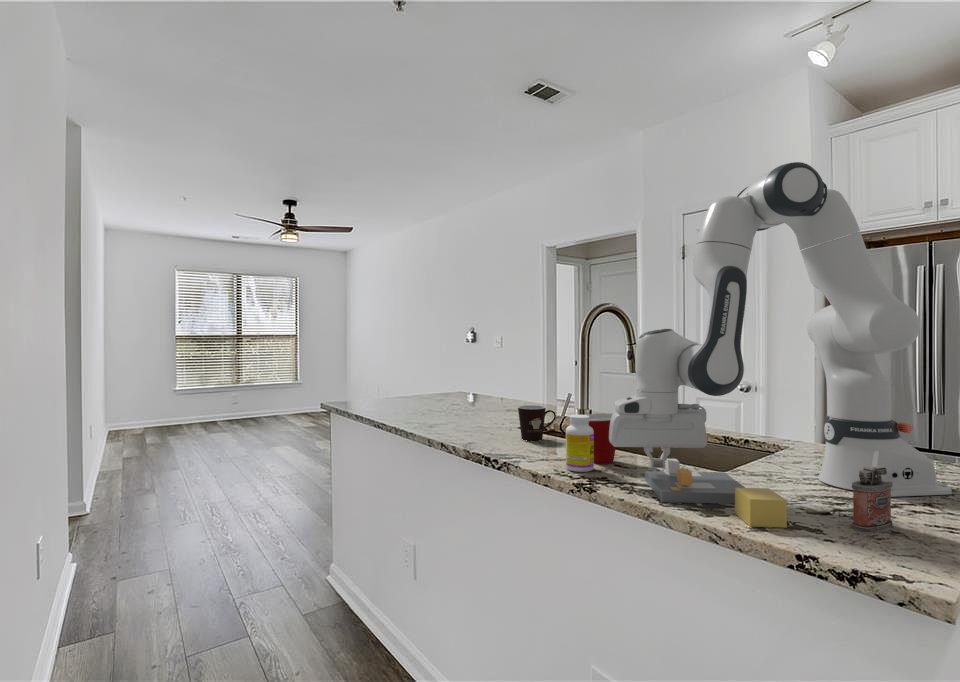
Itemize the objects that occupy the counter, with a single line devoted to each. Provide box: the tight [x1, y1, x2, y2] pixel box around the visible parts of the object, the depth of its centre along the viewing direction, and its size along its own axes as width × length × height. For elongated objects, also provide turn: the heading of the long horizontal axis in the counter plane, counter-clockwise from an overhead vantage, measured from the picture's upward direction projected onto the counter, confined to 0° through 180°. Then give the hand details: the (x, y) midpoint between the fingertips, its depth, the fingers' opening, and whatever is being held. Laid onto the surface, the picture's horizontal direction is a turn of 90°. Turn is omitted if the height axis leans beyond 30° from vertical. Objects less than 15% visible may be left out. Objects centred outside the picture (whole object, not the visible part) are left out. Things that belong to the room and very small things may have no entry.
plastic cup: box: [586, 412, 617, 465], centre depth 132 cm, size 11×11×12 cm
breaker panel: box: [644, 470, 746, 505], centre depth 106 cm, size 17×15×2 cm
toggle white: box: [665, 458, 681, 474], centre depth 112 cm, size 2×3×2 cm, turn 174°
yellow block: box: [734, 487, 788, 529], centre depth 90 cm, size 6×7×5 cm
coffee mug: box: [517, 404, 557, 442], centre depth 160 cm, size 12×9×10 cm
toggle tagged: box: [677, 468, 693, 485], centre depth 104 cm, size 2×3×2 cm, turn 174°
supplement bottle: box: [565, 414, 595, 473], centre depth 124 cm, size 7×7×13 cm
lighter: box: [851, 466, 893, 534], centre depth 86 cm, size 8×3×10 cm, turn 113°
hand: (657, 467), depth 112 cm, fingers closed
